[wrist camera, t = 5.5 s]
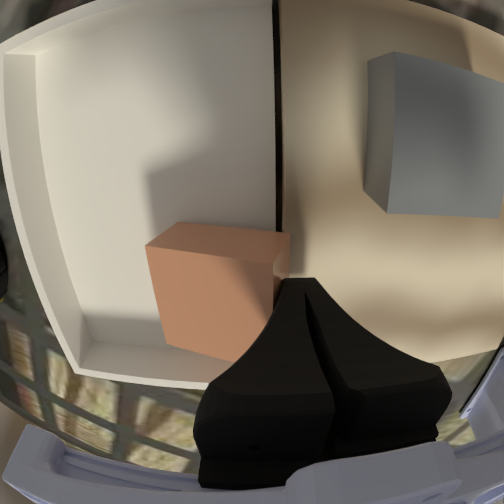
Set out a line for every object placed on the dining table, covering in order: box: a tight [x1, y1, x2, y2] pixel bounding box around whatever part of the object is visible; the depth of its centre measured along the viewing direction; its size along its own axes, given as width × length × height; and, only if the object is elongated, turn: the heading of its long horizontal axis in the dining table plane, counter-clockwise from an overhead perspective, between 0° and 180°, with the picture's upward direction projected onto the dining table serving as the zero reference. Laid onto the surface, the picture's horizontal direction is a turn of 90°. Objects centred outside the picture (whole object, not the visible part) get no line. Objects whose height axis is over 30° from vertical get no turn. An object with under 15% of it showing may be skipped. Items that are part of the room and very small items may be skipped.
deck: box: [278, 0, 504, 363], centre depth 12 cm, size 18×15×2 cm
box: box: [0, 0, 276, 390], centre depth 12 cm, size 18×12×3 cm, turn 1°
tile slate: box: [364, 51, 504, 219], centre depth 9 cm, size 5×5×2 cm
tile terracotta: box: [145, 222, 291, 362], centre depth 13 cm, size 5×5×2 cm
